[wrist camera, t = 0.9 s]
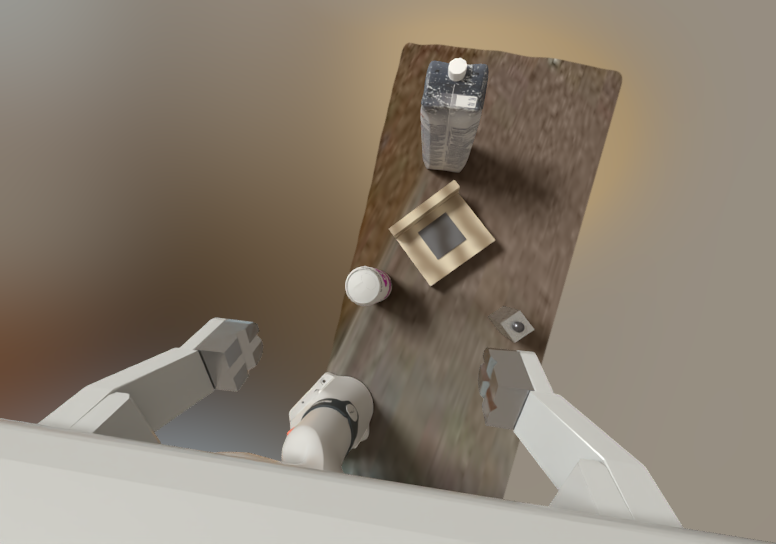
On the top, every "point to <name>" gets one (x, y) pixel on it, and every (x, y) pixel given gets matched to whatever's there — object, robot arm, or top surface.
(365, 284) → the supplement can
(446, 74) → the juice carton
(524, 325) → the square capped bottle
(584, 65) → the top surface
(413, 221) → the birch stand
